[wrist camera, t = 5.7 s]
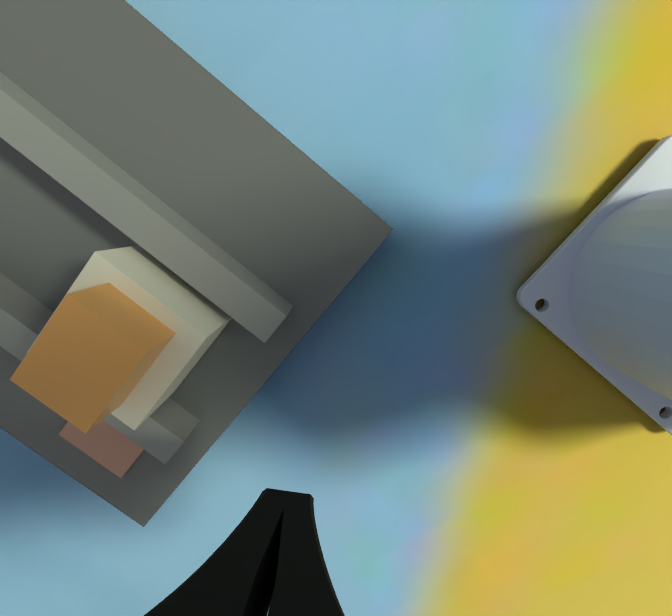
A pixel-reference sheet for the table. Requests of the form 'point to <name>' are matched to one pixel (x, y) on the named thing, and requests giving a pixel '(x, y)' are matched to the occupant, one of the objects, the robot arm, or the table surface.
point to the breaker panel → (154, 227)
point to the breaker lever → (119, 340)
